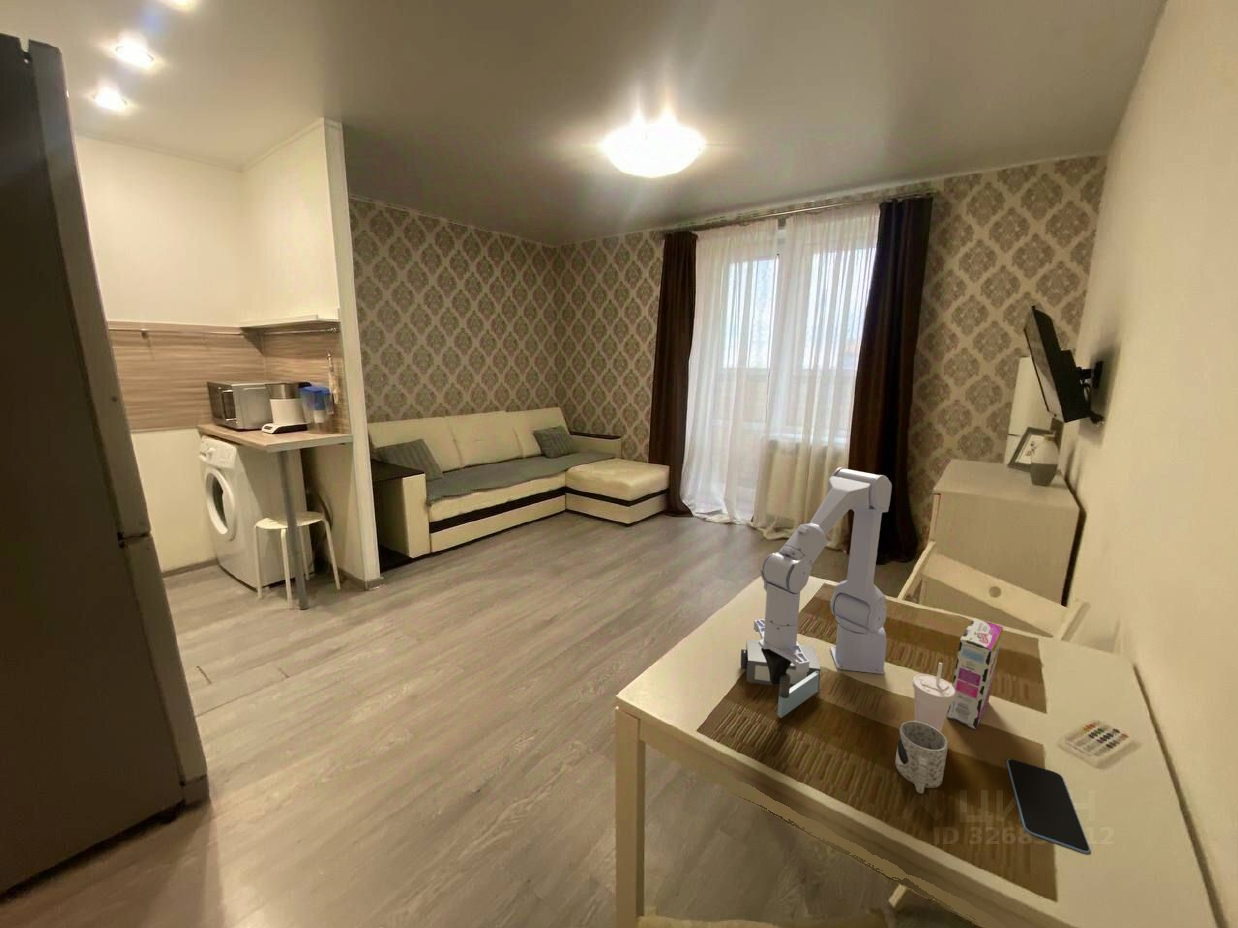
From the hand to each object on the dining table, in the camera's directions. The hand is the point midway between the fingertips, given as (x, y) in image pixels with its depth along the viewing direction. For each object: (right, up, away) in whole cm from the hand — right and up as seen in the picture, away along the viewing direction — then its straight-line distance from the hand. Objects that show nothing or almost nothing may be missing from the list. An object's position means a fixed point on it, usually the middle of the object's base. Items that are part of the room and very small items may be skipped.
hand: (776, 683), depth 94 cm
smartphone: (+35, -10, -18) cm, 41 cm away
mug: (+18, -9, -14) cm, 25 cm away
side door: (+5, -5, +3) cm, 8 cm away
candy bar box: (+37, -6, +1) cm, 37 cm away
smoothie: (+25, -7, -4) cm, 27 cm away
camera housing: (+4, -3, +12) cm, 13 cm away
